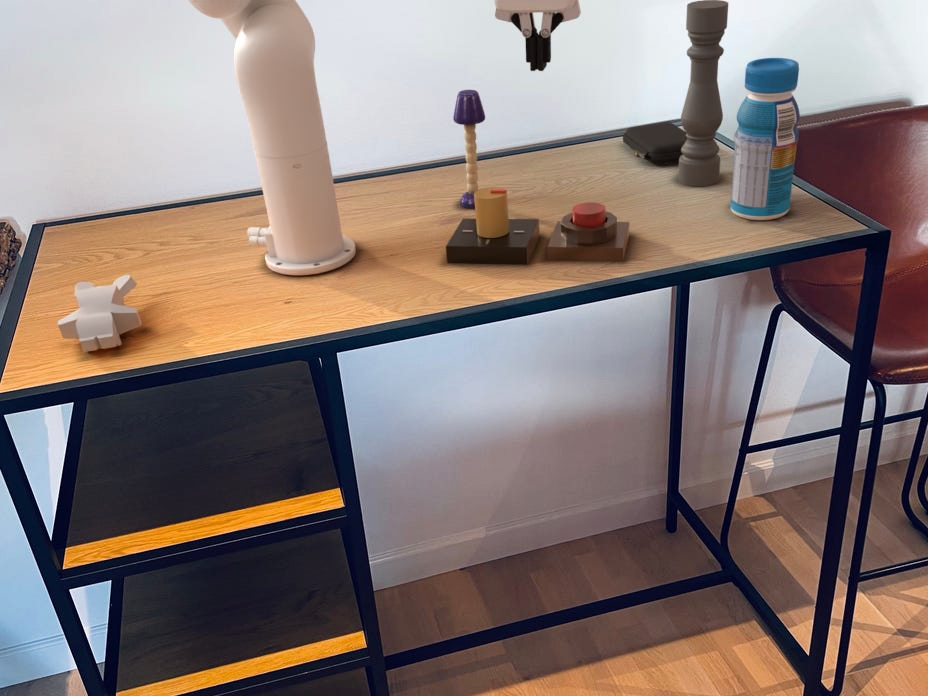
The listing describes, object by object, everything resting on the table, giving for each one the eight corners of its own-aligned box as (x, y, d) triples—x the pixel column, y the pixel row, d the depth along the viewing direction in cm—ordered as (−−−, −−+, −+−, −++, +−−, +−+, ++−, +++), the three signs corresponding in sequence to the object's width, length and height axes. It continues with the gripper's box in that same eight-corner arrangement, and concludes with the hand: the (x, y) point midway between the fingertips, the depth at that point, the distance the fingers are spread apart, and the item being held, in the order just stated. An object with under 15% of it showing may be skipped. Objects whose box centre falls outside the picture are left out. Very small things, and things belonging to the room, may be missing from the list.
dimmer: (447, 263, 134) (445, 245, 132) (464, 234, 142) (462, 217, 140) (527, 265, 131) (526, 246, 130) (539, 235, 139) (539, 217, 138)
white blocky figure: (50, 334, 116) (61, 270, 127) (64, 369, 119) (74, 304, 130) (132, 320, 117) (136, 259, 128) (144, 356, 120) (147, 293, 131)
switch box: (547, 260, 132) (546, 232, 130) (557, 234, 139) (557, 207, 137) (622, 262, 130) (623, 233, 127) (629, 235, 137) (629, 207, 135)
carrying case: (612, 144, 170) (645, 170, 158) (612, 126, 168) (645, 151, 156) (671, 135, 171) (707, 160, 159) (671, 117, 169) (708, 141, 158)
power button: (570, 229, 131) (569, 214, 130) (574, 216, 135) (574, 201, 133) (603, 229, 130) (603, 214, 129) (607, 216, 134) (607, 202, 132)
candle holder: (688, 189, 150) (697, 10, 135) (671, 176, 155) (677, 3, 140) (726, 182, 151) (738, 4, 136) (707, 170, 156) (717, -3, 141)
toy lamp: (492, 198, 153) (484, 86, 143) (489, 209, 149) (481, 95, 139) (461, 199, 153) (452, 88, 144) (458, 210, 150) (448, 97, 140)
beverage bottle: (727, 221, 138) (738, 72, 127) (730, 199, 145) (740, 56, 133) (790, 222, 136) (807, 71, 125) (790, 200, 143) (805, 54, 131)
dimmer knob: (474, 238, 134) (471, 196, 130) (479, 225, 137) (476, 185, 134) (506, 238, 133) (504, 196, 129) (511, 225, 136) (508, 184, 133)
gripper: (466, -89, 115) (475, 75, 126) (594, -93, 112) (592, 76, 123) (481, -96, 121) (488, 61, 132) (603, -101, 118) (600, 61, 129)
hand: (538, 68), depth 127 cm, fingers closed
